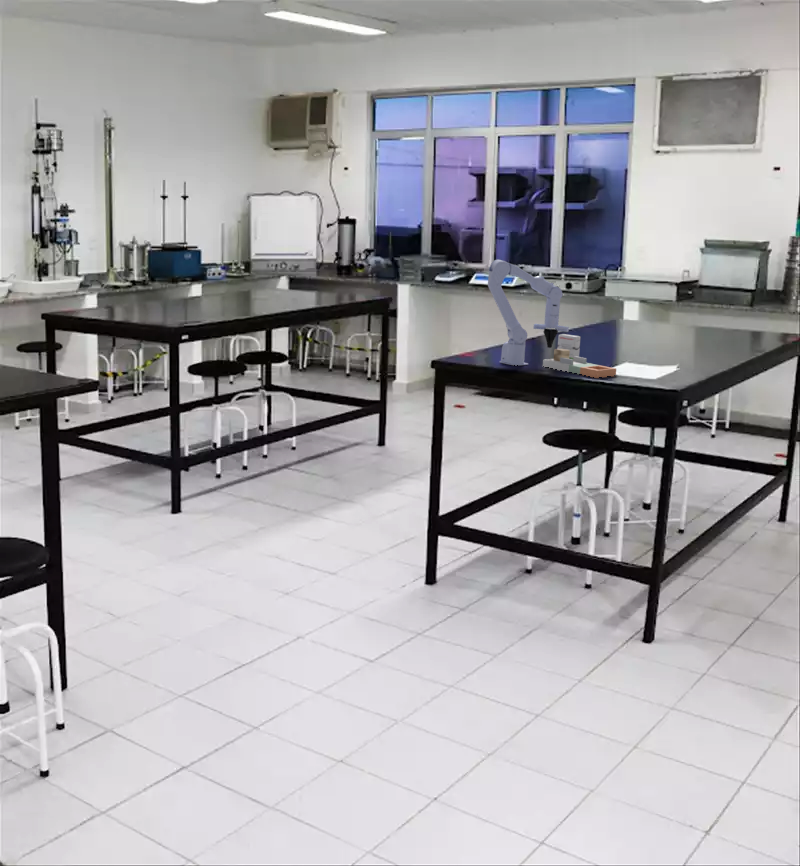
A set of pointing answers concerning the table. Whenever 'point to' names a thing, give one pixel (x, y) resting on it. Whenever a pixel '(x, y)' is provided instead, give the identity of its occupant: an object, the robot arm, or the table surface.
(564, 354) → the maple block
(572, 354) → the ink box
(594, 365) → the channel deck
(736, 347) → the table surface
